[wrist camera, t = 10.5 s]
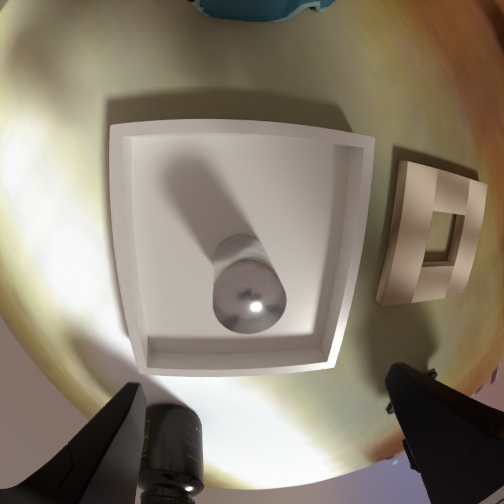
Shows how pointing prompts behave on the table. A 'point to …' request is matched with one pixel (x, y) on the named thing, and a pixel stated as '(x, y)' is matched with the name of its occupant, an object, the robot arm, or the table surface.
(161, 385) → the table surface
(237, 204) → the tray
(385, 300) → the socket block
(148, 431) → the supplement bottle
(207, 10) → the sunglasses
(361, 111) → the table surface
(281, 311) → the steel pin
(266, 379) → the table surface
